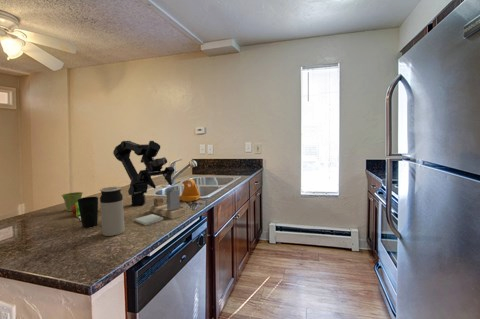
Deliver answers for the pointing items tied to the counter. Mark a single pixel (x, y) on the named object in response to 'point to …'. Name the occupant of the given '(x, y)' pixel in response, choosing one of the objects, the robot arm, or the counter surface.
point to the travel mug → (112, 211)
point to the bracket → (190, 191)
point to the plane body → (165, 209)
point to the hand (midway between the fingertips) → (163, 186)
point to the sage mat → (149, 219)
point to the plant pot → (71, 199)
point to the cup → (88, 211)
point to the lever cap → (173, 200)
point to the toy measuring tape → (76, 210)
